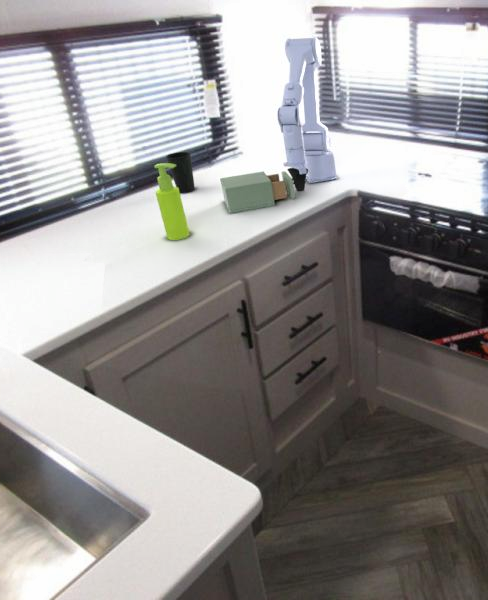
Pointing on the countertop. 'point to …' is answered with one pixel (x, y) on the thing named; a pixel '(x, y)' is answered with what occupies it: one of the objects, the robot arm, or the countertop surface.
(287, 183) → the drawer
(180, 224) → the soap dispenser
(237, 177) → the cabinet
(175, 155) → the cup
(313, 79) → the robot arm
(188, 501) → the countertop surface
